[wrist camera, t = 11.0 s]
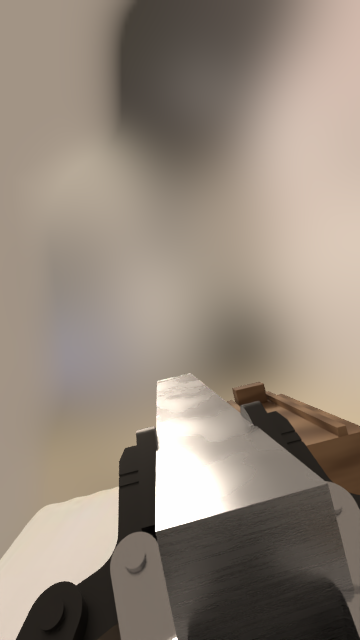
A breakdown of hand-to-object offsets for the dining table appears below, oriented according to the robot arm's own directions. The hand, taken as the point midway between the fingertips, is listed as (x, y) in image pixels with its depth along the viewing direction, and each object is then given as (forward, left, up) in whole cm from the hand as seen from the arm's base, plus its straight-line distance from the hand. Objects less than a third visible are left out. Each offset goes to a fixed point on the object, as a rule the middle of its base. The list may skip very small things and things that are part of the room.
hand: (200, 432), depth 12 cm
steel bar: (+5, +3, -3) cm, 7 cm away
